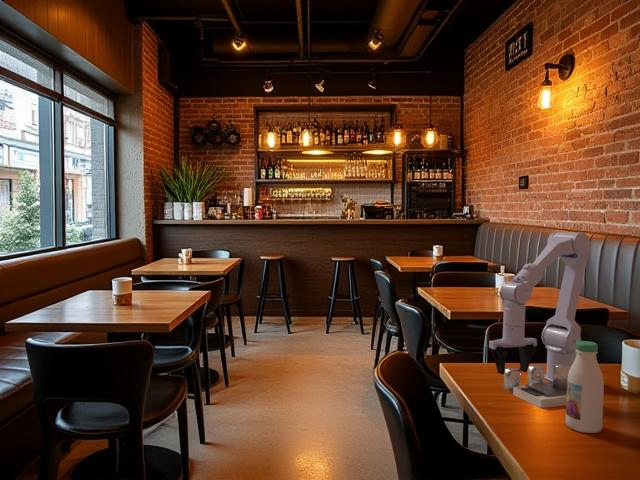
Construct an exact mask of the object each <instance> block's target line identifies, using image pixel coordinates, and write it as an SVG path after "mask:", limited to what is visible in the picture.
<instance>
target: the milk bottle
mask: <svg viewBox="0 0 640 480" xmlns="http://www.w3.org/2000/svg"><path fill="white" fill-rule="evenodd" d="M598 346H599V345H598V343H596V342H593V341H589V340H588V341H587V340H581V341H578V342H576V352H577V354H576V358H575V361H574V363H573V364H572V366H571V368H570V370H569V373H568V380H567V399H566V405H565V407H566V408H565V425H566V426H567V427H568V428H569V429H571V430H572V431H576V432H580V433H585V434H597V433H601V431H602V430H603V419H604V418H603V415H604V393H605V392H604V386H605V385H604V376H603V372H602V369H601V367H600V365H599V363H598V358H597V354H598V348H599V347H598Z"/></svg>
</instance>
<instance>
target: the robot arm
mask: <svg viewBox="0 0 640 480" xmlns="http://www.w3.org/2000/svg"><path fill="white" fill-rule="evenodd" d="M546 242H547V244H546V246H545V247H544V249H543V250H542V251H541V252H540V253H539V255H538V256H537V258H536V259H535V260H534V262H533V263H531V262H529V263H526V264H524V265H523V266H522V269H520V271H519V272H518V273H517V274H516V275H515V276H514V277H512V279H511V280H510V281H509V280H508V281H506V282H505V283H503V285H501V288H500V290H499V293H498V294H499V297H500V299H501V305H502V307H503V314H502V315H503V316H502V317H503V321H502V322H503V323H502V338H498V339H494V340H488V341H489V342H488V348H489V351H490V353H491V355H492V357H493V360H494V363H495V366H496V371H497V373H498V374H500V375H504V372H505V368H506V360H507V356H508V354H509V352H508V351H507V350H505V348H506V349H507V348H518V353H519V369H520V370H521V372H523V373H528V367H529V365H531V364H530V363H531V361H532V359H533V357H534V356H535V354H536V353H537V346H538V345H537V344H538V339H537V338H534V337H525V332H526V331H525V326H526V325H525V324H526V322H525V321H526V304H527V303H528V302H529V301H530V299H531V295H532V292H533V290H534V288H536V286H537V285H538V283H540V282H541V280H543V277H544V271H545V270H546V269H547V268H548V267H549V266H550V265H552V263H554V261H556V260H557V258H559V259H560V260H561V261H563V262H564V264H565V267H564V272H563V277H562V280H561V286H560V290H559V294H558V295H559V296H558V300H557V304H556V309H555V314H554V315H553V316H552V317H550V318H549V319H547V320H546V324H545V326H544V327H543V330H542V332H541V340H542V343H543V344H544V346H545V347H544V348H545V349H547V351H546V352H547V353H546V354H547V355H546V374H545V373H544V380H547V381H548V382H552V381H553V365H554V364H566V365H569V366H572V364H573V363H574V361H575V358H576V354H577V352H576V342H578V341H582V337H581V332H582V327H581V326H580V325H579V324H578V323H577V322H576V320H575V318H576V312H577V308H578V303H579V299H580V294H581V290H582V284H583V280H584V275H585V271H586V267H587V262H588V258H589V254H590V249H591V245H592V242H591V241H590V238H589V237H588V235H587V234H586V233H585V232H583V231H582V232H581V231H579V232H574V231H573V232H569V231H559V230H556V231H554V232H553V233H551V235H550V236H549V237H548V238H547V241H546ZM562 327H563V328H562Z"/></svg>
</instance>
